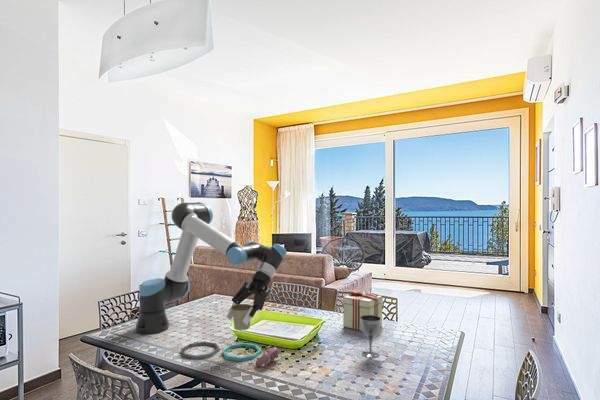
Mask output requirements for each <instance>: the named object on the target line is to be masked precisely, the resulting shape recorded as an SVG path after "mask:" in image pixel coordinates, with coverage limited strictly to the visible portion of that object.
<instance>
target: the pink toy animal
mask: <svg viewBox="0 0 600 400" xmlns="http://www.w3.org/2000/svg"><path fill="white" fill-rule="evenodd" d="M280 352H281V349H279V348H278V347H276V346H274V347H270V348H269V349H267V350H266V351H265V352H264V353H263V354H262V355H261V356H260V357H259V358H257V359H256V361H255V365H256V367H261V366H264V365H265V366H268V365H269V364H270V363H273V362H274V361H275V359H276V358H277V357H278V356H279V354H280Z"/></svg>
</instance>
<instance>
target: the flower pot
mask: <svg viewBox="0 0 600 400" xmlns="http://www.w3.org/2000/svg"><path fill="white" fill-rule="evenodd" d="M231 306H232V305H231ZM231 306H230V308H229V310H230V309H231V310H232V313H233V317H232V320H233V324H234V325H233V327H234V329H235V330H236V331H242V330H243V331H248V330H249V329H250V327H251V320H252V319H251V320H250V321H249V323H248V325H246V324H245V323H244V322H243V319H244V318H245V316H246V314H247V313H248V311H249V309H250V308H251V307H252V306H253V304H249V303H248V304H247V303H240V304H238V305H234V306H232V307H231ZM252 308H253V307H252Z"/></svg>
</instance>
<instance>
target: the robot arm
mask: <svg viewBox="0 0 600 400" xmlns="http://www.w3.org/2000/svg"><path fill="white" fill-rule="evenodd" d="M213 218H214V214H213V211H212V208H211V206H210V205H209V204H207V203H205V202H181V203H179V204H178V203H177V205H176V206H174V208H173V209H172V211H171V221H172V223H173V225H175V227H177V228H178V229H180V230H181V234H180V237H179V240H178V241H179V242H178V244H177V246H176V251H175V254H174V257H173V261H172V263H171V267H170V270H169V271H167V272H166V273H165V276H164V278H162V277H159V278H156V277H155V278H151V279H147V280H145V281H143V282H141V284H140V285H139V291H138V293H139V314H138V319H137V321H136V324H135V332H136V333H138V334H142V335H143V334H144V335H150V334H158V333H162V332H164V331H166V330H168V329H169V327H170V322H169V319H168V315H167V313H166V304H168V303H171V302H175V301H178V300H181V299H183V298H185V297H186V296H187V295H188V293H189V292H190V288H191V284H190V280H189V276H188V271H189V268H190V265H191V262H192V258H193V256H194V254H195V250H196V247H197V244H198V240H201V241H203V243H206V244H207V245H209V246H211V248H213V249H214V250H215V251H216V250H217V251H218V252H219V253H222V255H224V256H225V257H226V259H227V262H228V263H229V264H230V265H233V266H237V265H243V264H245V263H249V262H254V261H257V262H260V265H259V267H258V268H257V269H256V271H255V272H254V275H253V276H252V281H251V282H250V283H248V282H247V281H245V282H244V283H243V286H242V287H241V288H240V289H239V290H238V291H237V292H236V293H235V295H234V296H232V298H231V302H232V305H231V306H230V308H231V307H232V306H234V305H238V304H242V303H243V302H244V301H245V300H246V299H248V298H249V296H252V295H254V298H253V304H252V305H253V306H252V307H253V308H252V307H251V308H250V309H249V311H248V313H247V314H246V316H245V318H244V319H243V322H244V323H245V324H246V325H248V323H249V321H250V320H252V318H254V316H255V315H256V313H257V312H258V311H262V310H263V308H264V305H265V303H266V299H267V296H268V295H269V293H270V291H271V290H270V288H269V287H268V286H269V285H270V283H271V280H272V279H273V278H274V276H275V275H276V272H277V271H278V270H279V267H280V265H282V263H283V261H284V260H285V257H286V255H287V250H286V248H285V247H284V246H283V245H282V244H280V243H273V244H272V246H271V247H270V246H267V245H264V244H261V243H258V242H256V241H253V240H252V241H251V240H247V241H246V242H245V243H244V244H243V245H242V244H240V243H238V242H237V241H236V240H234V239H232V238H231V237H230V236H228V235H227V234H224V233H223V232H221V231H220V230H218V229H216V228H215V227H214V226H211V225H210V224H211V223H212V221H213ZM230 308H229V311H228V312H227V314H226V316H225V317H226V318H227V319H228V320H230V321H231V320H233V313H232V310H231V309H230ZM250 322H251V321H250Z"/></svg>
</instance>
